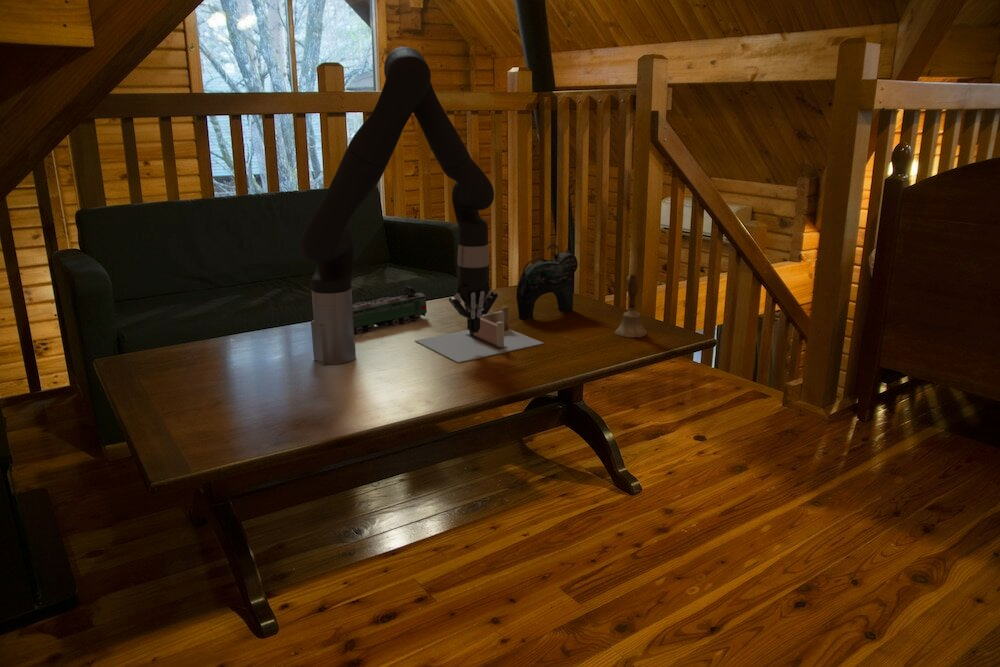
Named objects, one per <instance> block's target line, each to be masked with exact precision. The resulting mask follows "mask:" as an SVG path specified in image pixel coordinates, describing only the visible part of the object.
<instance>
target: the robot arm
mask: <svg viewBox="0 0 1000 667" xmlns="http://www.w3.org/2000/svg"><path fill="white" fill-rule="evenodd" d="M383 72H384V78H385V81H384V84H383V87H382V90H381V93H380V95H379V98H378V99H377V102H376V104H375V107H374V109H373V110H372V112H371V113H370V115H369V116H368V117H367V119H366V120H365V121H364V122H363V124H362V125H361V126H360V127H359V128H358V129H357V131H356V132H355V133H354V135H353V136H352V138H351V140H350V141H349V143H348V145H347V147H346V149H345V152H344V154H343V156H342V158H341V160H340V163H339V165H338V168H337V169H336V172H335V174H334V176H333V178H332V179H331V182H330V185H329V187H328V189H327V192H326V194H325V196H324V198H323V200H322V202H321V204H319V207H318V209H317V210H316V212H315V214H314V215H313V217H312V218H311V219H310V221H309V223H308V225H307V226H306V228H305V229H304V232H303V234H302V236H301V237H302V238H301V249H302V252H303V255H304V256H305V258H306V259H307V260H309V261H310V262H311V263H313V264H314V263H315V264H317V266H316V268H315V272H314V274H313V275H312V277H311V279H310V287H311V289H310V290H311V300H312V314H313V315H312V316H313V319H312V320H311V321H310V326H311V327H310V329H311V339H312V352H313V354H312V355H313V359H314V360H315V361H317V362H318V363H319V364H321V365H323V366H325V365H340V364H344V363H349V362H352V361H354V360H355V359H356V358H357V353H356V351H357V350H356V349H357V348H356V337H355V332H354V320H353V294H352V293H353V292H352V280H353V277H354V271H355V266H354V265H355V264H354V262H355V261H354V260H355V259H354V241H353V235H352V232H351V230H350V228H349V226H348V224H349V223H350V220H351V218H352V217H353V215H354V214H355V212H356V211H357V210H358V209H359V207H360V206H361V205H362V204H363V203H364V202H365V201H366V200H367V198H368V197H369V196H370V195H371V194H372V192H373V191H374V190H375V188H376V187H377V186H378V183H379V181H380V180H381V179H382V178H383V174H384V173H385V170H386V169H387V166H388V165H389V163H390V160H391V158H392V156H393V154H394V152H395V149H396V147H397V145H398V143H399V141H400V138H401V137H402V136H401V135H402V133H403V130H404V128H405V126H406V125H407V122H408V121H409V119H410V118H411V116H412V115H414V117H415V118H416V120H417V123H418V125H419V126H420V128H421V130H422V132H423V134H424V137H425V139H426V141H427V143H428V145H429V148H430V150H431V152H432V154H433V155H434V157H435V159H436V161H437V162H438V164H439V166H440V168H441V169H442V170H441V171H442V172H444V174H445V175H446V177H447V178H450V179H451V180H453V181H455V183H454V184H453V188H452V190H451V201H452V206H453V210H454V211H453V212H454V216H455V219H456V222H457V226H458V232H457V233H458V249H457V261H456V262H457V282H458V287H457V289H456V294H455V295H454V296H453V297H452V296H450V297H449V299H448V302H449V303H451V305H452V306H453V307H454V309H455V310H456V311H457V313H458V314H459V315H460V316H462V317H464V318H466V319H467V320H466V322H467V323H466V324H467V325H466V326H467V328H466V329H467V330H469V331H470V332H471V333H478V332H479V330H480V317H481V316H482V315H484V314H485V315H486V314H487V313H489V311H490V309H491V308H492V307H493V305H494V303H495V302H496V300H497V298H498V297H499V294H498V293H497V292H494V291H493V290H491V287H490V286H491V285H490V284H489V282H490V249H489V226H488V225H489V224H488V222H487V221H486V220H485V219H483V218H482V217H481V216H480V211H482V210H483V211H484V210H487V209H488V208H490V207H491V206H492V204H493V202H494V199H495V190H494V187H493V185H492V183H491V180H490V179H489V178H488V176H487V175H486V174H485V173H484V172H483V170H482V168H480V167H479V165H478V164H477V163H476V162H475V161H474V160H473V159H472V157H471V155H470V153H469V151H468V149H467V147H466V146H465V143H464V141H463V140H462V138H461V137H460V134H459V132H458V131H457V129H456V128H455V126H454V125H453V122H451V120H450V118H449V116H448V115H447V113H446V111H445V109H444V108H443V106H442V104H441V102H440V101H439V98H438V96H437V94H436V91H435V90H434V88H433V85H432V82H431V81H432V74H431V70H430V66H429V64H428V63H427V61H426V59H425V57H424V56H423V55H422V54H421V53H420V52H419V51H417V50H416V49H414V48H412V47H409V46H399V47H396V48H394V49H393V50H391V51H390V52H389V53H388V55H387V57H386V58H385V60H384V66H383ZM462 302H463V303H464V305H463V304H462Z"/></svg>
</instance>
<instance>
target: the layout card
mask: <svg viewBox="0 0 1000 667" xmlns="http://www.w3.org/2000/svg"><path fill="white" fill-rule="evenodd" d="M414 342H415V343H417V344H418V345H419V344H420V345H421V346H423V347H425V348H427V349H429V350H430V351H433V352H435V353H437V354H439V355H440V356H443V357H445V358H446V359H449V360H450V361H453V362H454V363H456V364H461V363H467V362H471V361H474V360H478V359H483V358H488V357H493V356H497V355H500V354H505V353H510V352H515V351H518V350H523V349H524V350H525V349H528V348H532V347H537V346H542V345H544V342H542V341H541V340H537V339H535V338H532V337H530V336H527V335H525V334H523V333H520V332H517V331H515V330H512V329H510V328H509V329H504V346H503V347H498V346H497V345H495V344H492V343H490V342H488V341H486V340H484V339H481V338H479V337H477V336H470V331H469V330H468V329H466V330H461V331H456V332H451V333H450V332H449V333H446V334H440V335H436V336H435V335H434V336H431V337H430V336H429V337H426V338H420V339H417V340H414Z"/></svg>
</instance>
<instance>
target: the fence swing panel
mask: <svg viewBox="0 0 1000 667" xmlns="http://www.w3.org/2000/svg"><path fill="white" fill-rule="evenodd" d="M474 335H475V336H477V337H479V338H481V339H484V340H486V341H488V342H490V343H492V344H495V345H497V346H498V347H503V346H504V322H497V324H496V323H494V322H491V321H489V320H486V319H484V318H481V317H480V330H479V332H478V333H474Z"/></svg>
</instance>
